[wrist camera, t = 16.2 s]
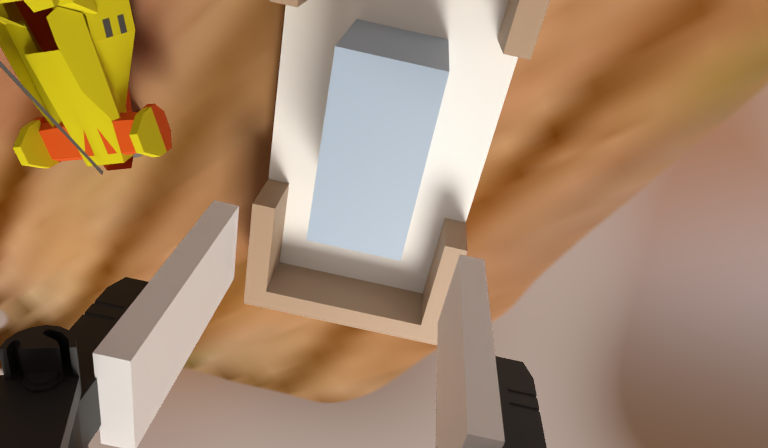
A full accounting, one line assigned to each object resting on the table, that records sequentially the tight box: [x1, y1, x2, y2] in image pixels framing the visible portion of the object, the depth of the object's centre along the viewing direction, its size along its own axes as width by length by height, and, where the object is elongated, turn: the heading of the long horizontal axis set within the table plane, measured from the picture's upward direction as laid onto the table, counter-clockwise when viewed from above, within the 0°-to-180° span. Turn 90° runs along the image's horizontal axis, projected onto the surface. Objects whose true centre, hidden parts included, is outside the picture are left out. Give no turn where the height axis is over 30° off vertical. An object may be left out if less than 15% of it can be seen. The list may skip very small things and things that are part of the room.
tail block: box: [306, 19, 449, 261], centre depth 26 cm, size 9×4×6 cm, turn 169°
